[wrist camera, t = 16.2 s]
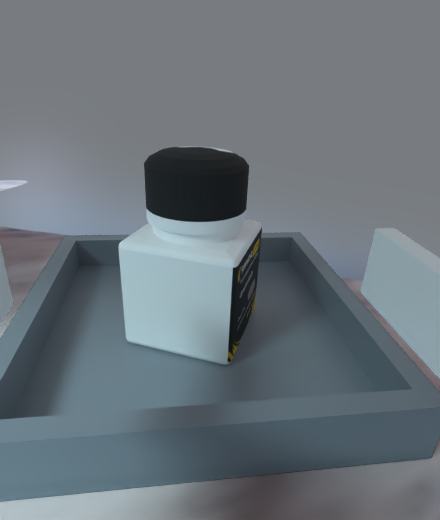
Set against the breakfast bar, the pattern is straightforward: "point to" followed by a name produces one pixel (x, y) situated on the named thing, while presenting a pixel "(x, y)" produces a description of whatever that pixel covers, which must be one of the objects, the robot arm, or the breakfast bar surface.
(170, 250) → the medicine bottle
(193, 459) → the tray
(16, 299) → the breakfast bar surface
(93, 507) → the breakfast bar surface
